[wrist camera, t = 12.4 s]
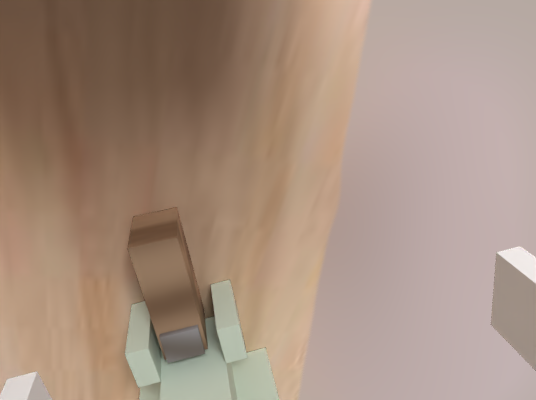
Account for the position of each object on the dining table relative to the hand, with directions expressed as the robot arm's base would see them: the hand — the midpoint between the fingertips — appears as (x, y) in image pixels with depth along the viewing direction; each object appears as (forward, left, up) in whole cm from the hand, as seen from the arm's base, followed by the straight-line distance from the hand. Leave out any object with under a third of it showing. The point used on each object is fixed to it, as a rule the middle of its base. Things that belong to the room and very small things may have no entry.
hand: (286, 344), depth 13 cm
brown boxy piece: (+14, -7, -29) cm, 33 cm away
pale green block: (+24, -7, -29) cm, 38 cm away
